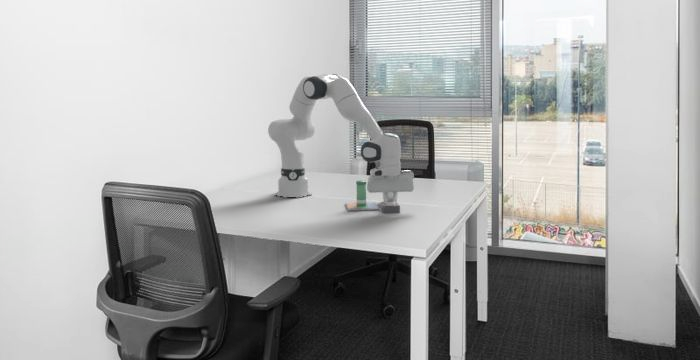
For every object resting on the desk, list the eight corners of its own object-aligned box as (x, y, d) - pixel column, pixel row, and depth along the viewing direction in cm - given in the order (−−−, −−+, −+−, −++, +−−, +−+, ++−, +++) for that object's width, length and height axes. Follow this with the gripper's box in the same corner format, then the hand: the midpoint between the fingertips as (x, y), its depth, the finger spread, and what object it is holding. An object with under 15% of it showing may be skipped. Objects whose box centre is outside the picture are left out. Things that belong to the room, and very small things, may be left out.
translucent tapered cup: (382, 204, 254) (383, 176, 252) (378, 200, 263) (378, 173, 261) (402, 203, 256) (402, 176, 253) (396, 199, 264) (397, 173, 262)
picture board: (345, 204, 253) (345, 203, 253) (374, 203, 255) (374, 202, 255) (348, 211, 239) (348, 209, 239) (379, 210, 240) (379, 208, 240)
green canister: (355, 204, 250) (355, 180, 248) (365, 204, 250) (365, 180, 248) (357, 206, 245) (356, 182, 243) (367, 206, 246) (367, 181, 244)
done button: (384, 209, 240) (384, 201, 240) (394, 208, 241) (394, 201, 240) (386, 211, 236) (386, 203, 236) (396, 210, 237) (396, 203, 236)
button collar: (381, 209, 242) (381, 203, 241) (396, 209, 242) (396, 202, 242) (383, 213, 235) (383, 206, 234) (399, 212, 235) (399, 205, 235)
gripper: (412, 169, 240) (412, 199, 242) (366, 170, 238) (366, 201, 240) (415, 171, 234) (415, 202, 236) (368, 172, 232) (368, 203, 234)
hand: (390, 201), depth 238 cm, fingers closed
